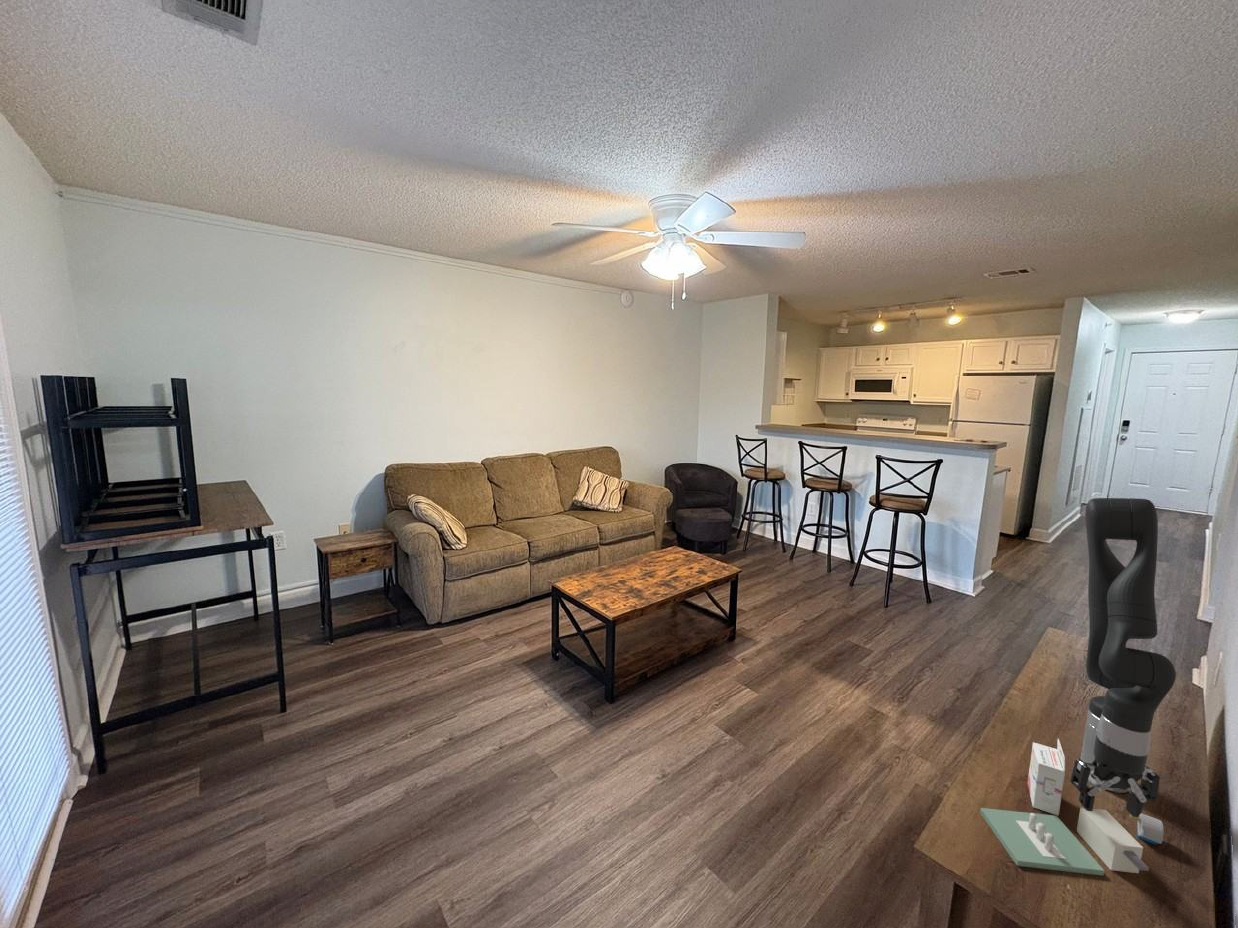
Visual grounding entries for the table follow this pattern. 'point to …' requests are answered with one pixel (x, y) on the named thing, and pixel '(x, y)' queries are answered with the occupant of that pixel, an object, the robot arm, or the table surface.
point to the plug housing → (1110, 841)
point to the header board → (1040, 841)
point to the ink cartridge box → (1046, 777)
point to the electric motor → (1149, 829)
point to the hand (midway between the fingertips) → (1108, 810)
